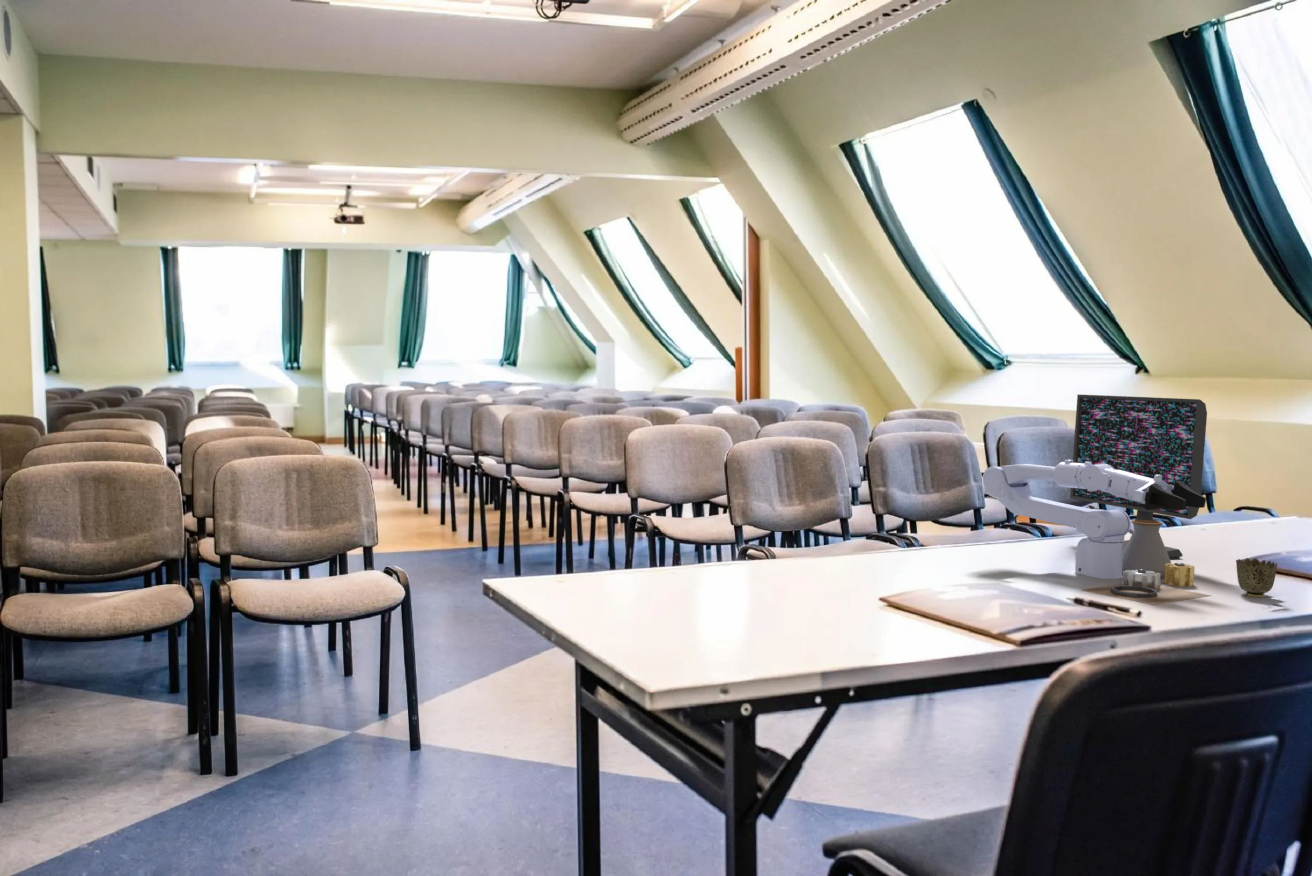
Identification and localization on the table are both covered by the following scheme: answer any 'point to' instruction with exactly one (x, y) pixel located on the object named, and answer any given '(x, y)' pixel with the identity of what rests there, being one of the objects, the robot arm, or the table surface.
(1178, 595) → the carrier plate
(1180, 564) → the planet gear
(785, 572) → the table surface
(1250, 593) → the cup
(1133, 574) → the sun gear
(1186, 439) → the computer monitor
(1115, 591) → the ring
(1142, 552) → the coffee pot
